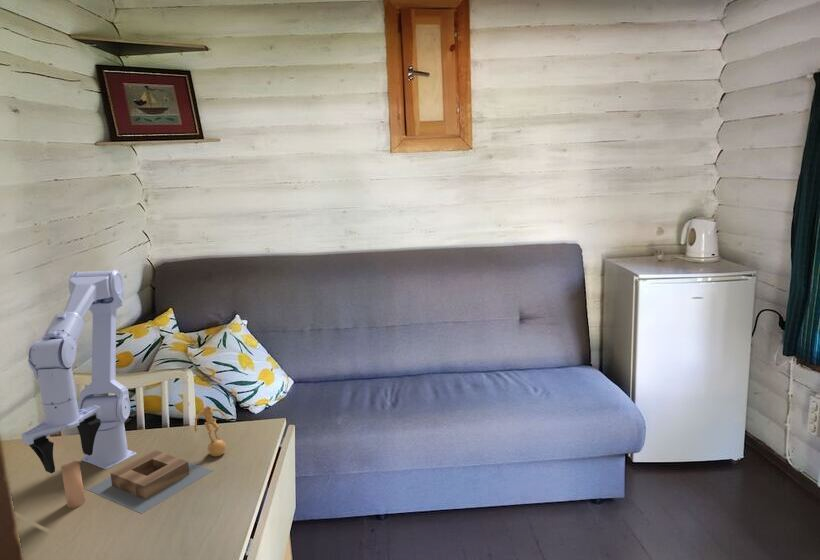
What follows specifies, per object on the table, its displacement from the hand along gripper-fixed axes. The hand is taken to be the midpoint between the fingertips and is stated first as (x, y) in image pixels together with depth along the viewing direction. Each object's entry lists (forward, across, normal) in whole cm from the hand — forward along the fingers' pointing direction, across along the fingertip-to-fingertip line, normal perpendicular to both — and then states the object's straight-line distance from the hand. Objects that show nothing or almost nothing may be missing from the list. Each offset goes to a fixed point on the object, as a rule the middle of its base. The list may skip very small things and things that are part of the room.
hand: (69, 462), depth 119 cm
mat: (+10, +13, -6) cm, 17 cm away
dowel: (+10, 0, 0) cm, 10 cm away
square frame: (+9, +13, -6) cm, 17 cm away
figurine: (+10, +28, -9) cm, 31 cm away
